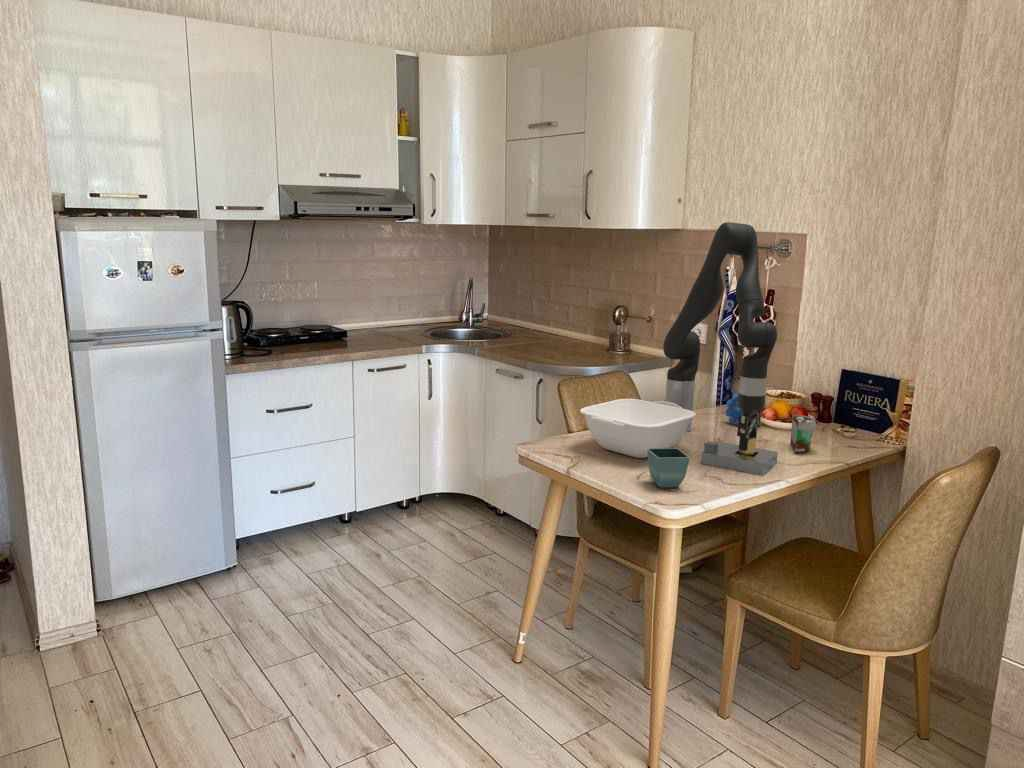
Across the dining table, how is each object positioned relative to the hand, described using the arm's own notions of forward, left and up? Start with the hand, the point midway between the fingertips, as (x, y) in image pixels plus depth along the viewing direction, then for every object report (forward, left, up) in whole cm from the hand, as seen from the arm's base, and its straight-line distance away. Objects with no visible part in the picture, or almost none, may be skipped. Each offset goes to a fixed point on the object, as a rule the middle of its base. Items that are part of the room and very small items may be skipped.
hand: (747, 446), depth 225 cm
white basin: (-32, -6, -6) cm, 33 cm away
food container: (+10, +26, -6) cm, 28 cm away
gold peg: (0, 0, -5) cm, 5 cm away
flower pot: (-12, -31, -6) cm, 34 cm away
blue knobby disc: (-15, +44, -6) cm, 47 cm away
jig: (-2, 0, -5) cm, 6 cm away
